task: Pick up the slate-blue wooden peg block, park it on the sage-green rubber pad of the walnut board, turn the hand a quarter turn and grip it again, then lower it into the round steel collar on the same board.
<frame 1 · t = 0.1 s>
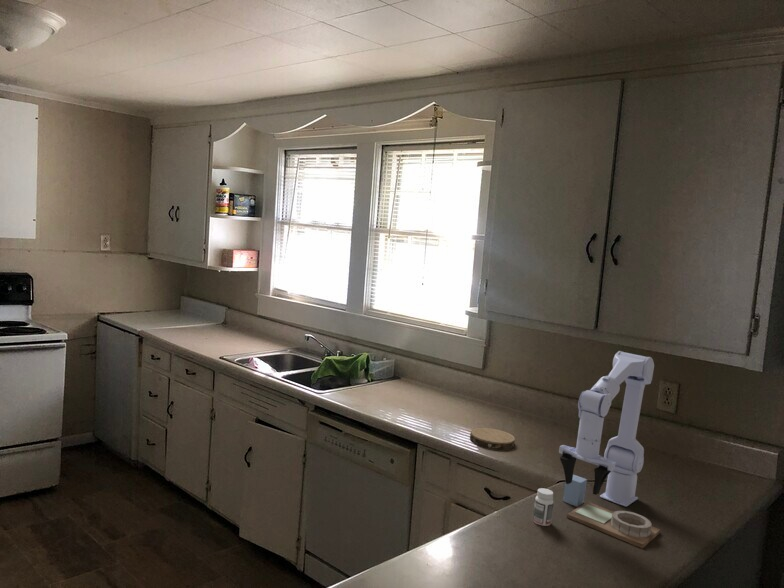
hand: (582, 488, 157), 10 cm above the worktop, tool pointing down, fingers open, 7 cm apart
pill bottle: (541, 522, 158), on the worktop
board: (612, 525, 161), on the worktop
tan round disc: (491, 443, 219), on the worktop
peg block: (573, 502, 173), on the worktop
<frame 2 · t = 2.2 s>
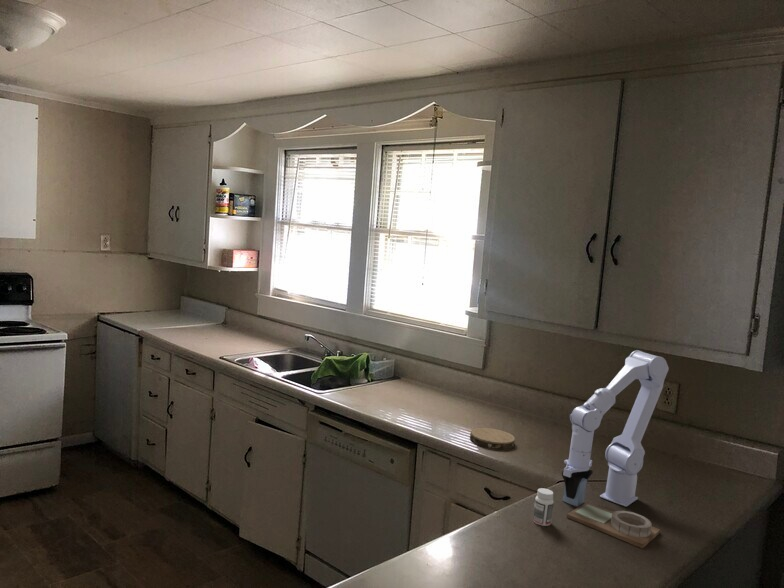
hand: (574, 495, 173), 2 cm above the worktop, tool pointing down, fingers closed on peg block, 4 cm apart
peg block: (573, 501, 173), on the worktop, touching gripper
everything else where it was.
when the fingers open (4 cm above the worktop, at t = 7.3 s): peg block stays where it is, resting on board.
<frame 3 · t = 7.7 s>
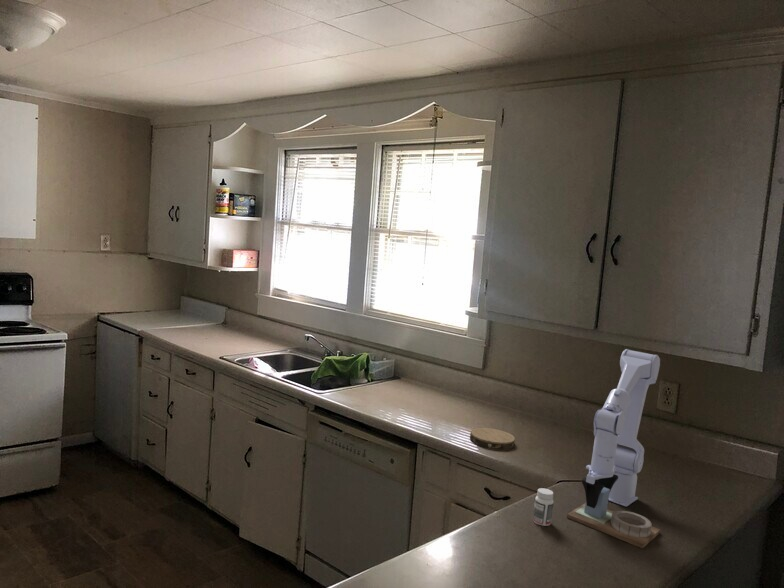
hand: (596, 503, 164), 4 cm above the worktop, tool pointing down, fingers open, 7 cm apart
peg block: (595, 513, 164), point 1 cm above the worktop, touching board
everything else where it was.
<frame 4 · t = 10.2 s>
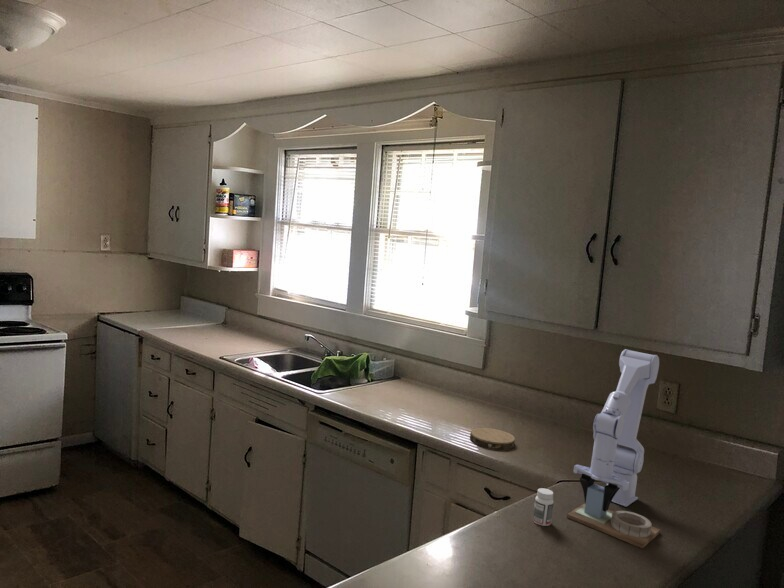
hand: (596, 506, 164), 3 cm above the worktop, tool pointing down, fingers closed on peg block, 4 cm apart
peg block: (595, 513, 164), point 1 cm above the worktop, touching board, gripper
everything else where it was.
when the fingers open (4 cm above the worktop, at t = 15.5 s): peg block drops 1 cm, resting on board.
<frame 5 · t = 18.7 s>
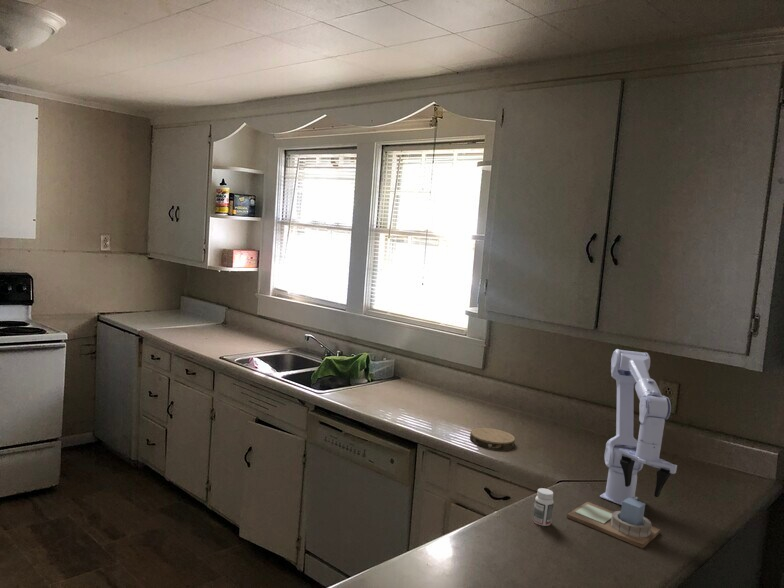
hand: (642, 490, 161), 10 cm above the worktop, tool pointing down, fingers open, 7 cm apart
peg block: (630, 528, 158), point 1 cm above the worktop, touching board
everything else where it was.
at the end: peg block 0.1 cm from the target spot on the board, point 1.0 cm above the board's base; peg block tilted 0°; the gripper is holding nothing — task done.
